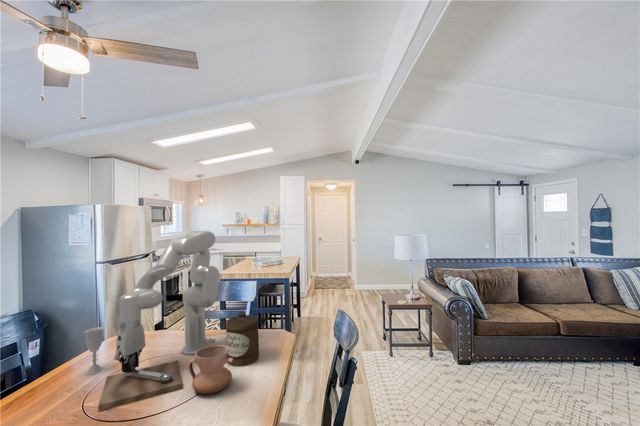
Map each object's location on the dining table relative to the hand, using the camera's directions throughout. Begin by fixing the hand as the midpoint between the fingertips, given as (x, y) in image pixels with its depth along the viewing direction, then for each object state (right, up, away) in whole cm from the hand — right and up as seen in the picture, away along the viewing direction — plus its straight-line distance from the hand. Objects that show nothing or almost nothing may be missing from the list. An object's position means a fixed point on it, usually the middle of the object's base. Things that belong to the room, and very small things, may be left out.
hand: (130, 368), depth 120 cm
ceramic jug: (+35, -4, -6) cm, 36 cm away
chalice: (-21, -6, +8) cm, 23 cm away
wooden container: (+42, -5, +17) cm, 45 cm away
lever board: (+8, -5, -4) cm, 9 cm away
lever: (+9, -2, -2) cm, 9 cm away
